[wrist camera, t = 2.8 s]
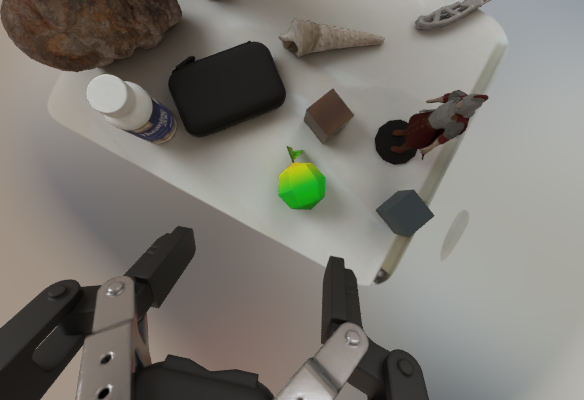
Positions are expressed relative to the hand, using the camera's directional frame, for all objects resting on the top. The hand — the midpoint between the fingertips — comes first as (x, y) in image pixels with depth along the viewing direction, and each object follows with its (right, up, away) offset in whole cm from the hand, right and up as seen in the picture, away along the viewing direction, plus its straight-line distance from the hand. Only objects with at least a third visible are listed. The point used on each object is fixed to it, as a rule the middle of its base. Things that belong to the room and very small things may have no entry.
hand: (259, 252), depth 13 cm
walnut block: (+7, +14, +21) cm, 26 cm away
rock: (-18, +20, +14) cm, 31 cm away
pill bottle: (-17, +14, +20) cm, 29 cm away
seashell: (+8, +26, +21) cm, 34 cm away
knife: (+27, +34, +21) cm, 48 cm away
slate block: (+17, +1, +21) cm, 27 cm away
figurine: (+18, +12, +21) cm, 30 cm away
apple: (+3, +6, +21) cm, 22 cm away
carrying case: (-7, +19, +20) cm, 28 cm away
